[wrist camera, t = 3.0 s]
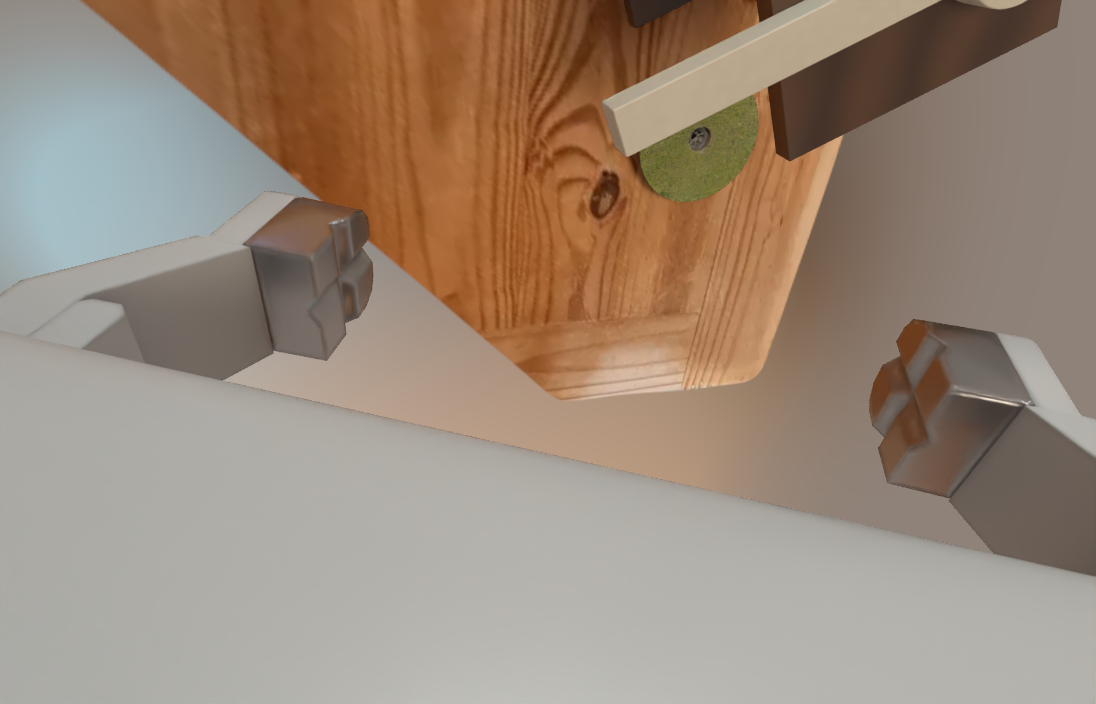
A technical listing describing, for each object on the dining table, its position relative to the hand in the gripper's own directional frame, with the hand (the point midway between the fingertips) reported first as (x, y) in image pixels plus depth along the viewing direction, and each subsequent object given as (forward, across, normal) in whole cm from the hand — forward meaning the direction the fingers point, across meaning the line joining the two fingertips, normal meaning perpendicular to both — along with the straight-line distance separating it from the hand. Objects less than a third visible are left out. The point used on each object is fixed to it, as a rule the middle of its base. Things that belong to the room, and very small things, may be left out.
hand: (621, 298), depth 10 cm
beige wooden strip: (+25, -6, 0) cm, 26 cm away
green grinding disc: (+50, -3, +15) cm, 53 cm away
